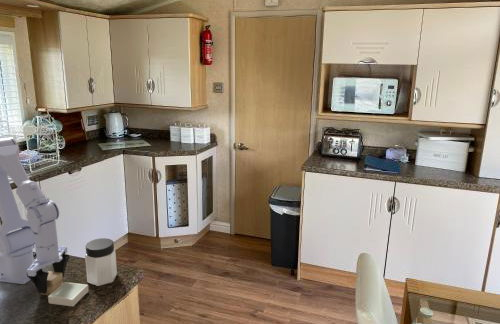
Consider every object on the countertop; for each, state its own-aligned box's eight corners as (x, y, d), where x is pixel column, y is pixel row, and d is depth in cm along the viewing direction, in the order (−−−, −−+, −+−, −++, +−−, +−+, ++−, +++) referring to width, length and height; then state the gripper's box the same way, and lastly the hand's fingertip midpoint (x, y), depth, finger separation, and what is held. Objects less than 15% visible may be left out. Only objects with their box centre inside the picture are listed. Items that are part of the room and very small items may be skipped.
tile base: (48, 303, 105) (47, 296, 104) (65, 288, 112) (64, 281, 112) (73, 306, 104) (72, 299, 103) (88, 291, 111) (87, 284, 111)
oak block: (39, 294, 109) (38, 279, 108) (50, 285, 114) (48, 271, 112) (53, 296, 109) (52, 280, 107) (63, 287, 113) (62, 272, 112)
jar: (90, 289, 112) (86, 252, 109) (84, 276, 119) (81, 242, 116) (120, 280, 117) (118, 245, 114) (113, 269, 124) (111, 235, 121)
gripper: (41, 256, 100) (47, 301, 103) (74, 234, 114) (78, 274, 117) (18, 254, 101) (24, 298, 104) (53, 232, 115) (58, 271, 118)
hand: (51, 285), depth 111 cm, fingers open, 7 cm apart
